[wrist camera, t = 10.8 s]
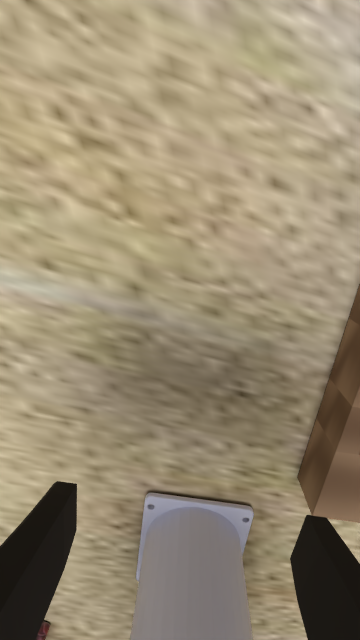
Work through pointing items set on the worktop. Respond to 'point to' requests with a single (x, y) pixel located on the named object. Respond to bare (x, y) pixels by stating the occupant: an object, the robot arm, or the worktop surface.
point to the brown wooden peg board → (337, 435)
